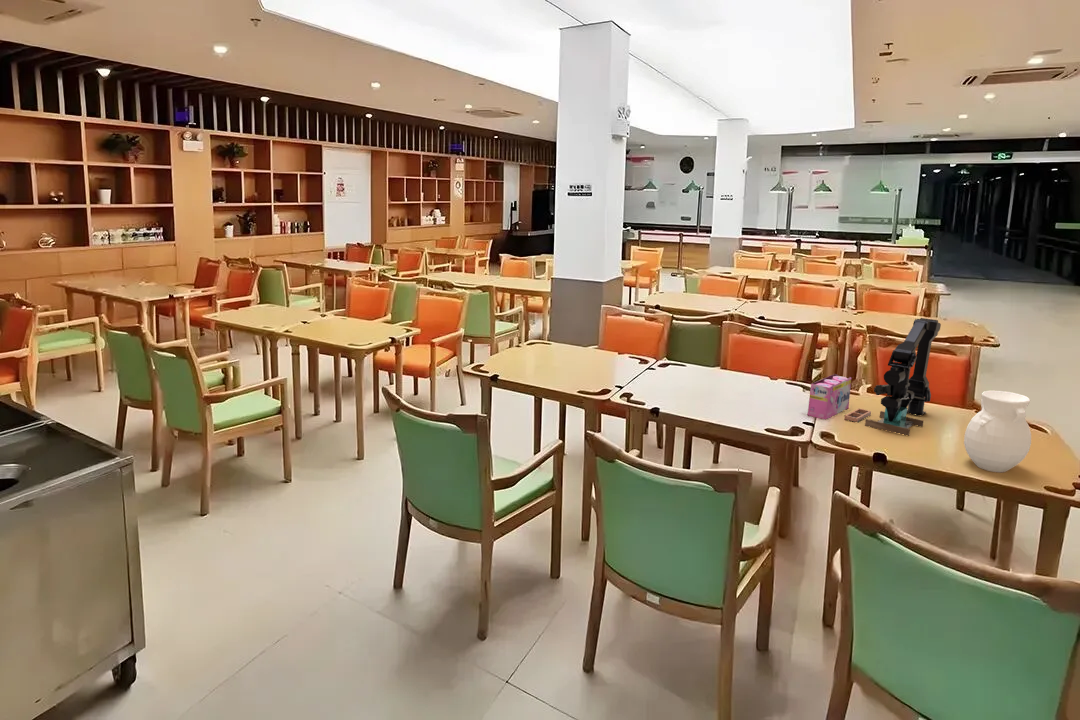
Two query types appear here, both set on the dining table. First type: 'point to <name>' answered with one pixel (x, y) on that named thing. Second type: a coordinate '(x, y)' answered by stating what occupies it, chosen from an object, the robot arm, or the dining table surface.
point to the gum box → (829, 396)
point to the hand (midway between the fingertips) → (894, 418)
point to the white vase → (999, 431)
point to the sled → (898, 419)
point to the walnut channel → (892, 427)
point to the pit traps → (857, 415)
